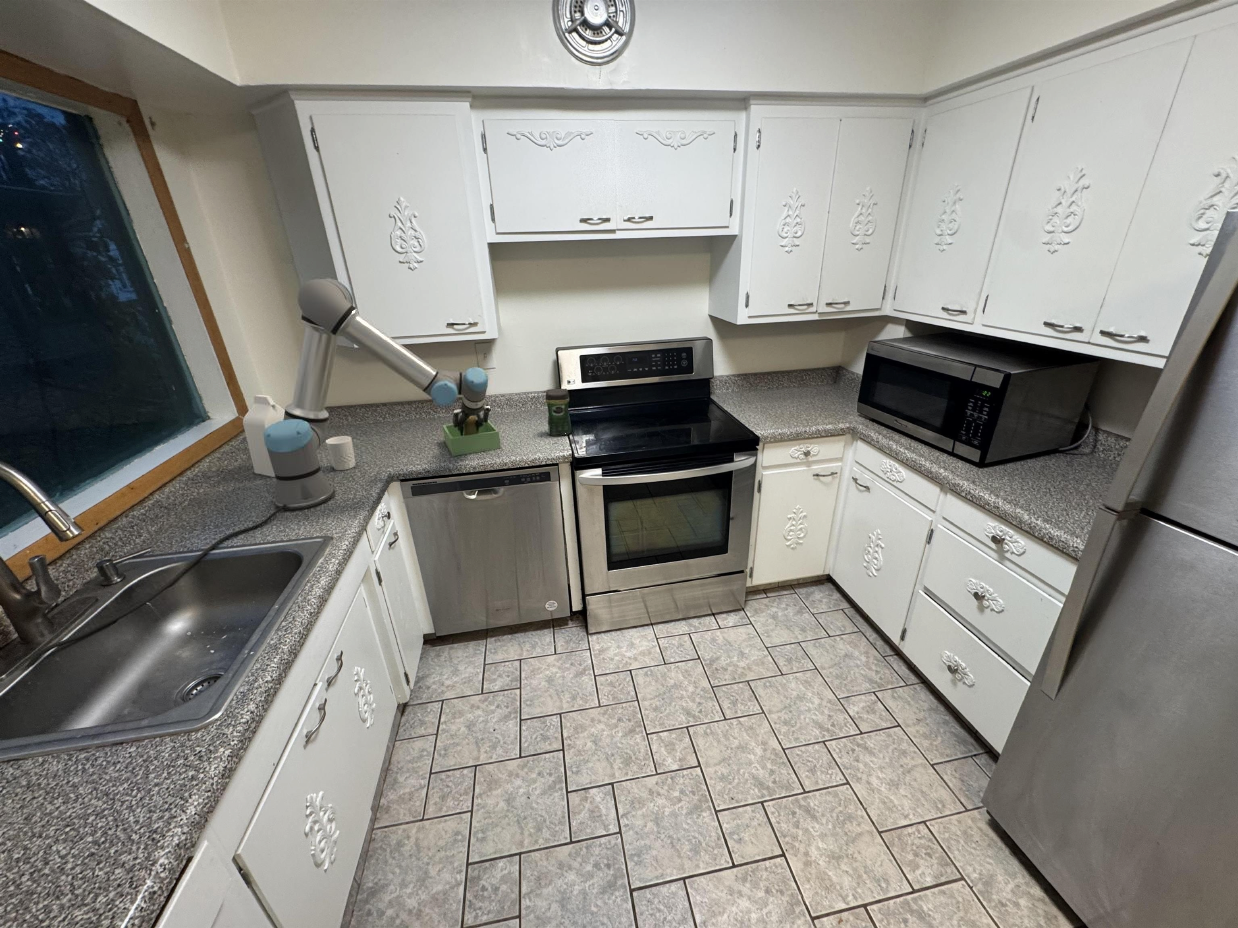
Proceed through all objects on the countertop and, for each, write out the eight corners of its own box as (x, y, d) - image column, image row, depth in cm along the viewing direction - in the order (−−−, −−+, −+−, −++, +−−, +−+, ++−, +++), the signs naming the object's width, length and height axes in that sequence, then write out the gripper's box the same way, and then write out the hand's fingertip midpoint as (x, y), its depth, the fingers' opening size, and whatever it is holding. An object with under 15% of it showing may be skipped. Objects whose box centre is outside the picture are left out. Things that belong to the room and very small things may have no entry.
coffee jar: (571, 429, 211) (568, 386, 204) (571, 435, 204) (569, 391, 197) (547, 430, 210) (544, 387, 203) (547, 437, 203) (544, 392, 196)
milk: (254, 472, 171) (231, 398, 161) (286, 461, 181) (266, 390, 171) (279, 477, 167) (257, 401, 157) (310, 465, 177) (291, 393, 167)
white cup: (352, 460, 181) (346, 434, 177) (360, 466, 175) (354, 439, 172) (329, 466, 176) (322, 439, 172) (336, 473, 170) (329, 445, 167)
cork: (475, 445, 191) (472, 418, 187) (461, 445, 192) (457, 417, 188) (482, 440, 197) (479, 413, 193) (468, 439, 198) (465, 412, 194)
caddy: (500, 448, 191) (498, 431, 189) (453, 456, 184) (450, 438, 181) (489, 434, 206) (487, 419, 203) (445, 441, 199) (442, 425, 196)
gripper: (449, 413, 172) (447, 444, 191) (501, 405, 179) (494, 436, 199) (444, 394, 174) (442, 426, 194) (496, 388, 182) (489, 419, 201)
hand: (468, 431), depth 196 cm, fingers closed on cork, 5 cm apart
